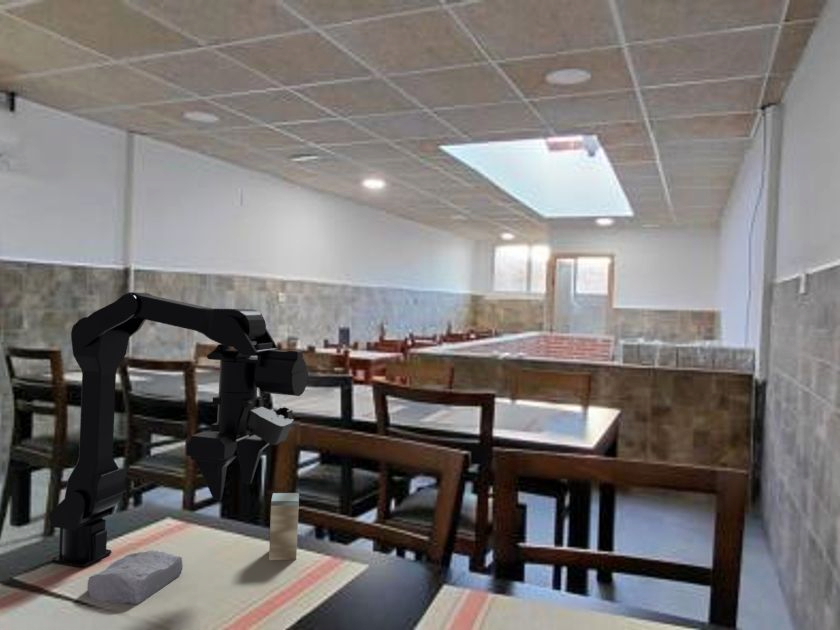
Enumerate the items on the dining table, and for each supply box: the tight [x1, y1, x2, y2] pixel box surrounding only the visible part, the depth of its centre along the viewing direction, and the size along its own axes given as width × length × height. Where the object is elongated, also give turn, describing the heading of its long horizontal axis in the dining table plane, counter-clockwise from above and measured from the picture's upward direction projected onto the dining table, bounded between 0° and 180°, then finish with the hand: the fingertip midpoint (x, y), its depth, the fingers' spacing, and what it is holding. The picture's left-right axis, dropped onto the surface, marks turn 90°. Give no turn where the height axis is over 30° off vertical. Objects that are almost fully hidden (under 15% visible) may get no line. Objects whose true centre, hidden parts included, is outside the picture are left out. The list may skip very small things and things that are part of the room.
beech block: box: [268, 492, 300, 561], centre depth 111 cm, size 4×4×10 cm
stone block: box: [86, 550, 184, 605], centre depth 97 cm, size 12×5×10 cm
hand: (233, 491), depth 99 cm, fingers open, 9 cm apart
